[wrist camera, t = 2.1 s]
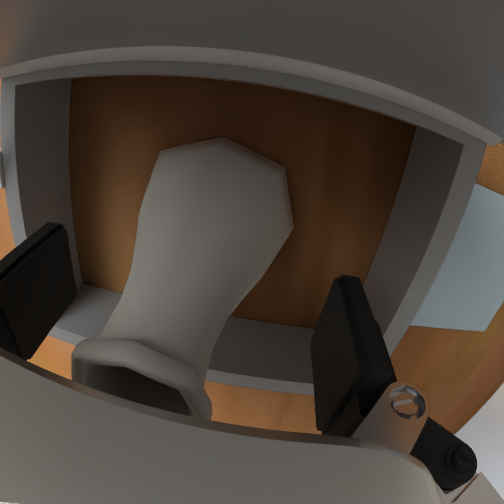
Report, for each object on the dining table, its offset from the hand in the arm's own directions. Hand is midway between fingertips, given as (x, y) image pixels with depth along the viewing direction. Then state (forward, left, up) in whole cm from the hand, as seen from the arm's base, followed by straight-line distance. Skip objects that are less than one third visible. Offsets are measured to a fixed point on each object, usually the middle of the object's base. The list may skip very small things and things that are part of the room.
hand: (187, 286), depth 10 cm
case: (0, 0, -5) cm, 5 cm away
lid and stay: (-6, 0, -2) cm, 7 cm away
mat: (0, +14, -5) cm, 15 cm away
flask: (0, 0, -5) cm, 5 cm away
